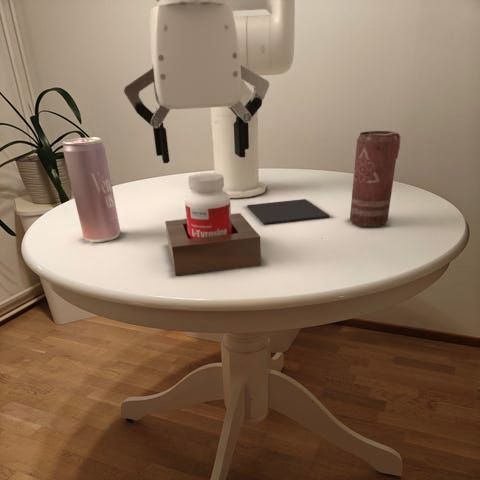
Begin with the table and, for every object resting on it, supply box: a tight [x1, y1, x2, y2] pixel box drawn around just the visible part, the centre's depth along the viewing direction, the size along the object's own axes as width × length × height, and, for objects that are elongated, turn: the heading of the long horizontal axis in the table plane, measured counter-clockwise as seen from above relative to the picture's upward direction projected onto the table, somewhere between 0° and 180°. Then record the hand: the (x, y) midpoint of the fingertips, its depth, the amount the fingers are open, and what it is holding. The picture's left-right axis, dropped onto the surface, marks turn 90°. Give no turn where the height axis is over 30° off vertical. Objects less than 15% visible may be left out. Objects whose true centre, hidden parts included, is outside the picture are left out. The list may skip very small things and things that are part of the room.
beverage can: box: [62, 137, 121, 243], centre depth 66 cm, size 6×6×15 cm
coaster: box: [246, 198, 330, 226], centre depth 78 cm, size 12×12×1 cm
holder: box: [164, 212, 262, 277], centre depth 60 cm, size 12×12×4 cm
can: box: [349, 130, 401, 228], centre depth 68 cm, size 6×6×14 cm
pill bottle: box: [184, 172, 232, 239], centre depth 58 cm, size 6×6×11 cm
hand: (203, 158), depth 54 cm, fingers open, 9 cm apart
